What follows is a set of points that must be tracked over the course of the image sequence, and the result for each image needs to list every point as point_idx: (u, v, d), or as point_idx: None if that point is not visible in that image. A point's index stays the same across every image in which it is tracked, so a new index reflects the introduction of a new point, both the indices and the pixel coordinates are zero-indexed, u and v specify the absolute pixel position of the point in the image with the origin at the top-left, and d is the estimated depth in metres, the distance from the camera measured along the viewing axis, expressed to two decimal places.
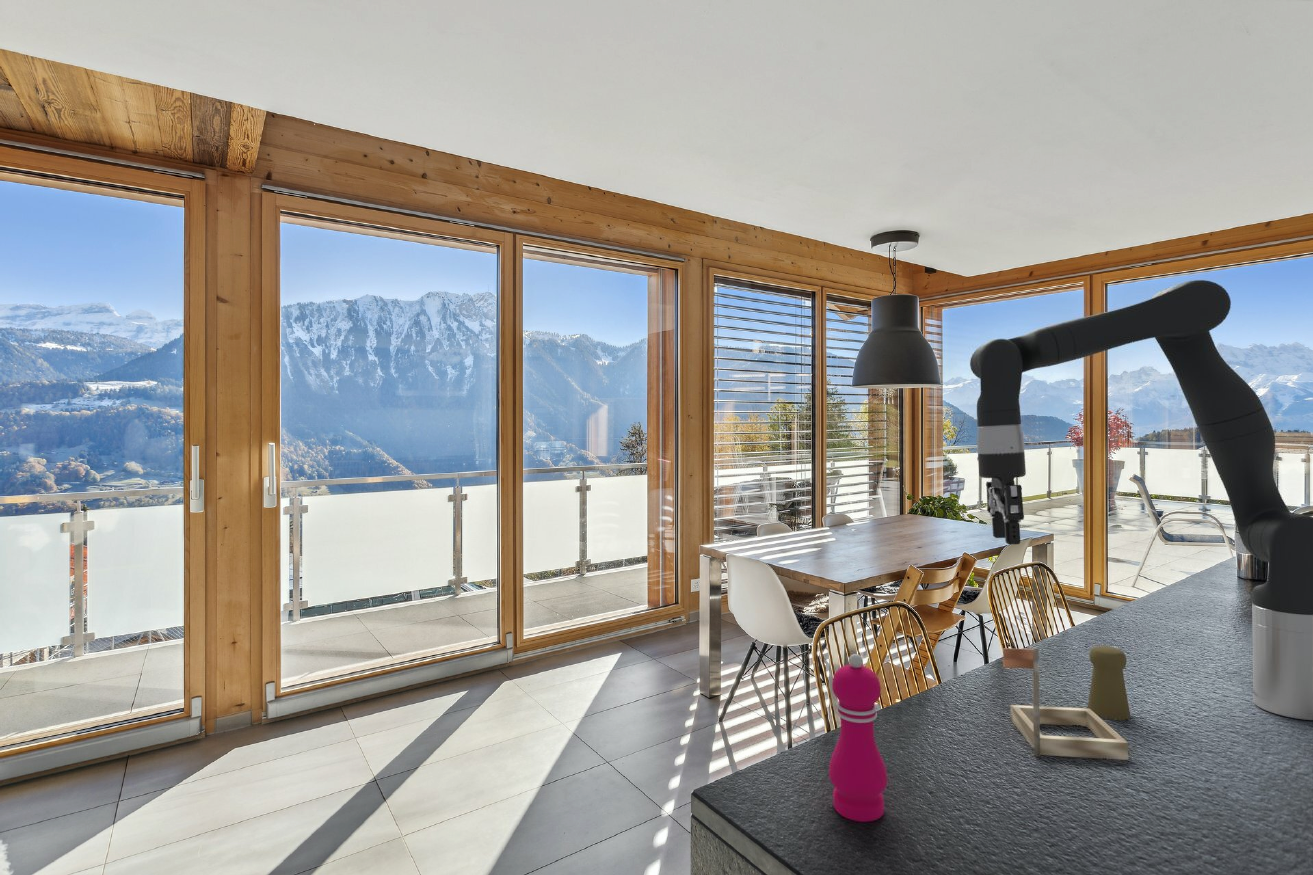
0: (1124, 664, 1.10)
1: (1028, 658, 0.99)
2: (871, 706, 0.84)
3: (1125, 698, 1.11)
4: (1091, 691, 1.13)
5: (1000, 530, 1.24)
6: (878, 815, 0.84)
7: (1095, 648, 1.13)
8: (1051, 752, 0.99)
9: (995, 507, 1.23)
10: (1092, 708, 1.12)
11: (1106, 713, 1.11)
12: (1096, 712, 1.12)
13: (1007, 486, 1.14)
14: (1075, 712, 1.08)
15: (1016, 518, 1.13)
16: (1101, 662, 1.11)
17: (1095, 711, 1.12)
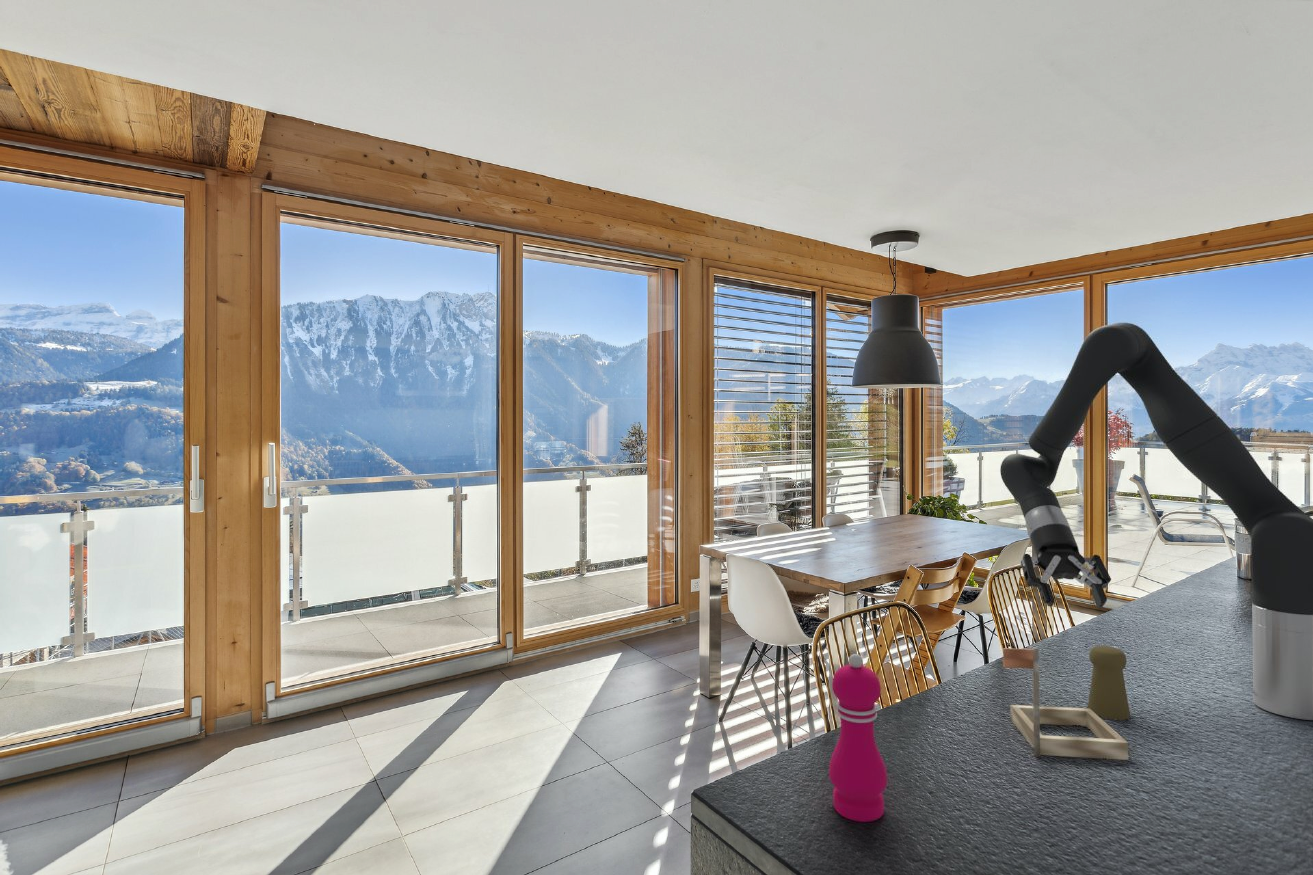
0: (1124, 664, 1.10)
1: (1028, 658, 0.99)
2: (871, 706, 0.84)
3: (1125, 698, 1.11)
4: (1091, 691, 1.13)
5: (1096, 598, 1.24)
6: (878, 815, 0.84)
7: (1095, 648, 1.13)
8: (1051, 752, 0.99)
9: (1082, 580, 1.28)
10: (1092, 708, 1.12)
11: (1106, 713, 1.11)
12: (1096, 712, 1.12)
13: (1021, 560, 1.32)
14: (1075, 712, 1.08)
15: (1028, 581, 1.28)
16: (1101, 661, 1.11)
17: (1095, 711, 1.12)
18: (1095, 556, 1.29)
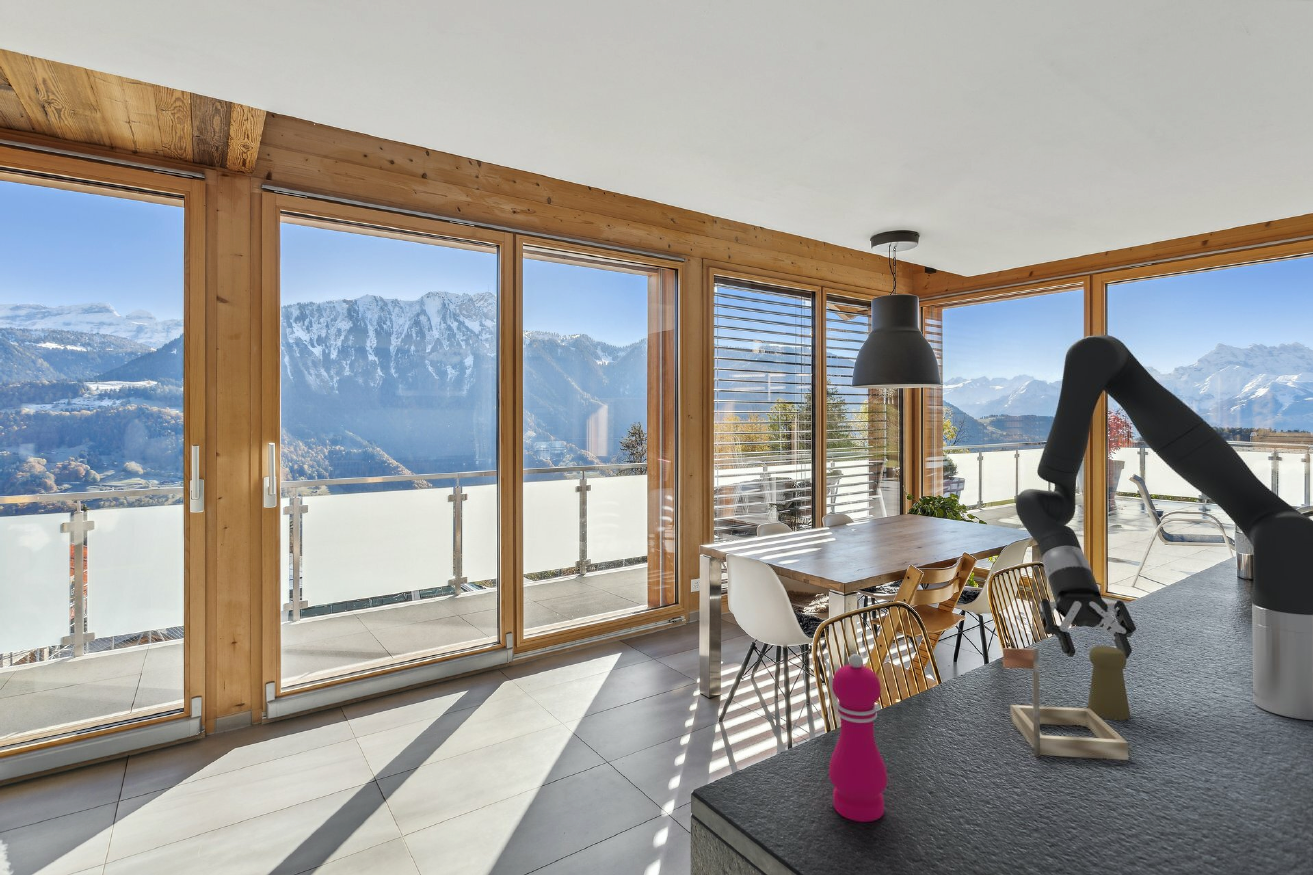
0: (1124, 664, 1.10)
1: (1028, 658, 0.99)
2: (871, 706, 0.84)
3: (1125, 698, 1.11)
4: (1091, 691, 1.13)
5: (1120, 649, 1.16)
6: (878, 815, 0.84)
7: (1095, 648, 1.13)
8: (1051, 752, 0.99)
9: (1104, 628, 1.20)
10: (1092, 708, 1.12)
11: (1106, 713, 1.11)
12: (1096, 712, 1.12)
13: (1039, 605, 1.24)
14: (1075, 712, 1.08)
15: (1047, 629, 1.20)
16: (1101, 662, 1.11)
17: (1095, 711, 1.12)
18: (1119, 602, 1.21)
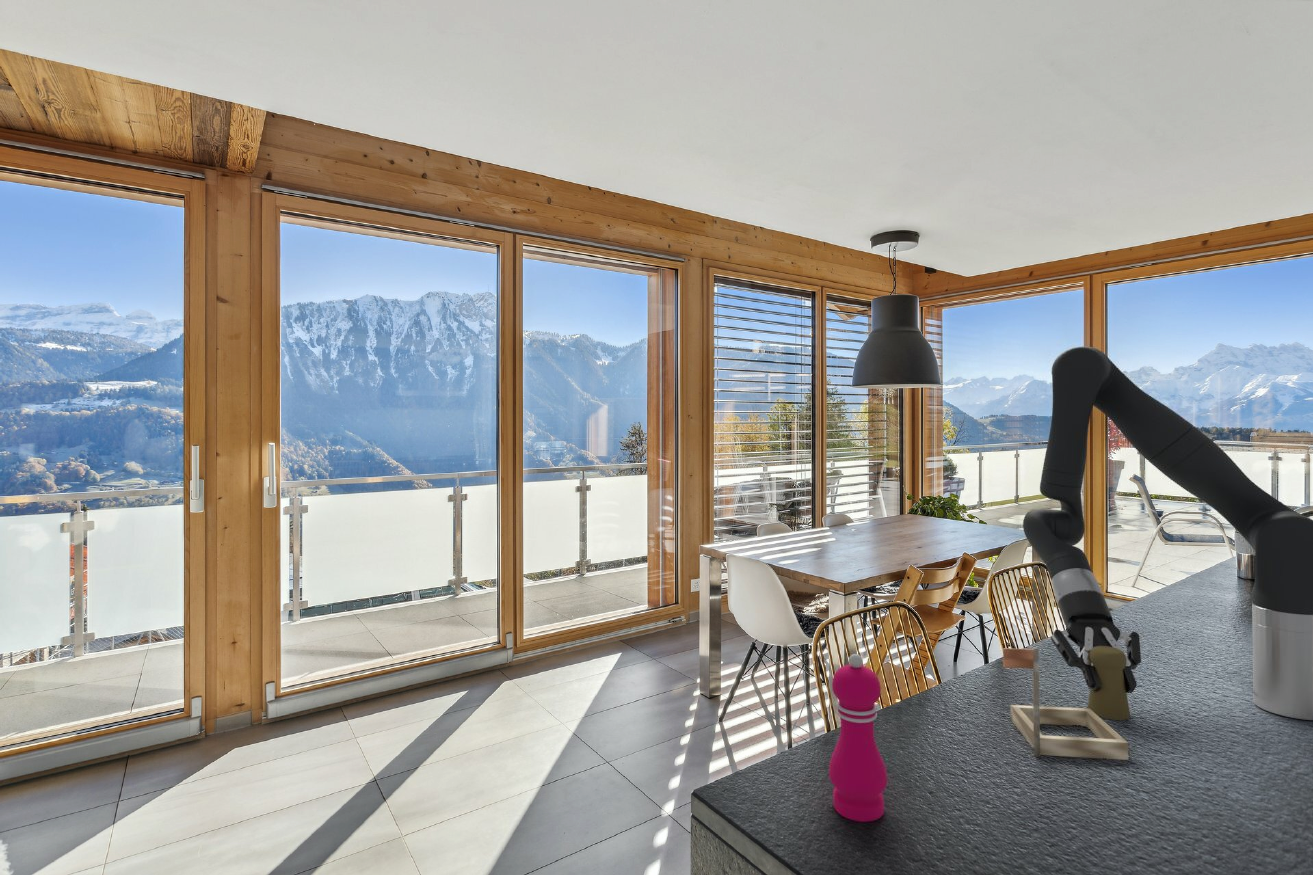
0: (1124, 664, 1.10)
1: (1028, 658, 0.99)
2: (871, 706, 0.84)
3: (1125, 698, 1.11)
4: (1091, 691, 1.13)
5: (1125, 682, 1.11)
6: (878, 815, 0.84)
7: (1095, 648, 1.13)
8: (1051, 752, 0.99)
9: None
10: (1092, 708, 1.12)
11: (1106, 713, 1.11)
12: (1096, 712, 1.12)
13: (1051, 636, 1.19)
14: (1075, 712, 1.08)
15: (1070, 661, 1.15)
16: (1101, 661, 1.11)
17: (1095, 711, 1.12)
18: (1133, 633, 1.16)
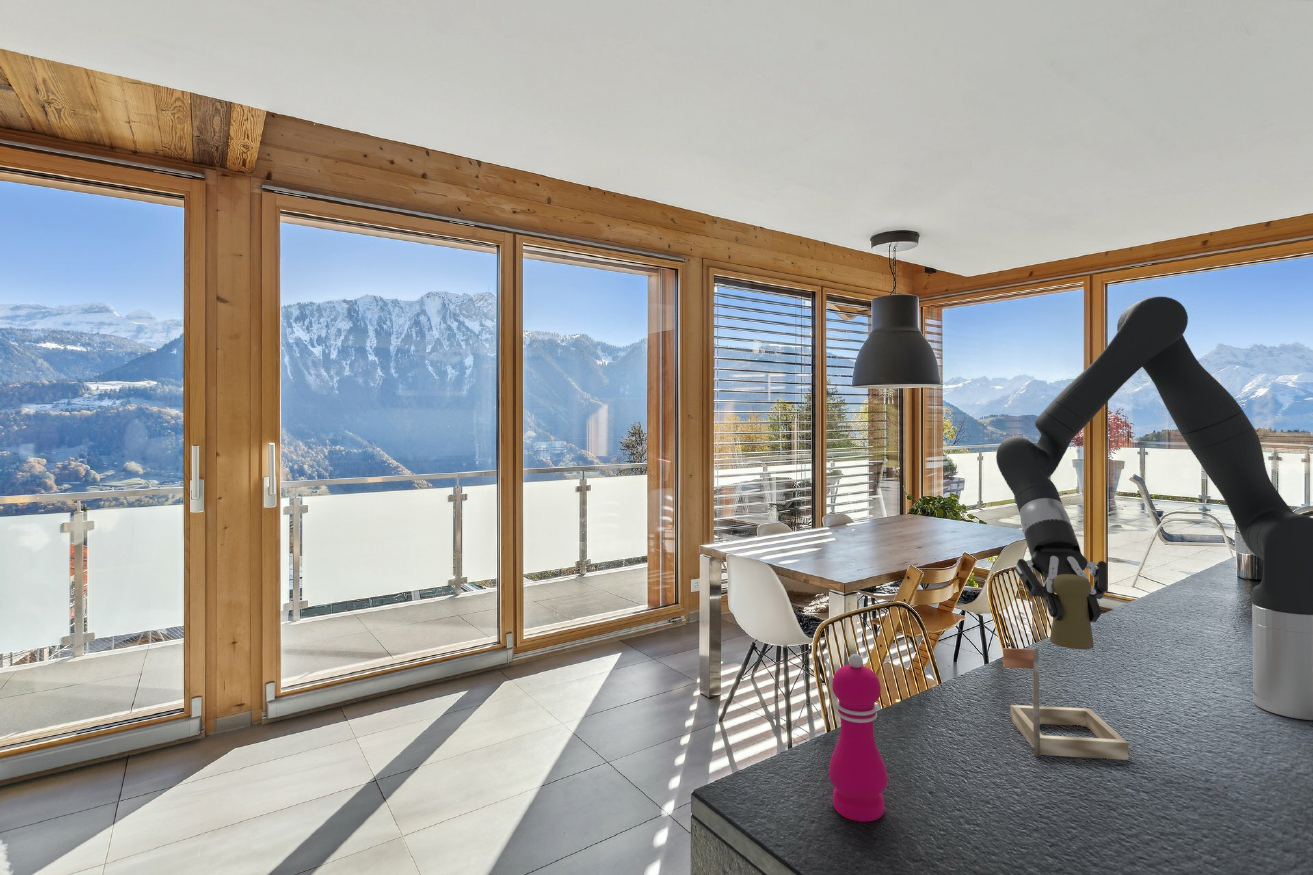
0: (1088, 591, 1.05)
1: (1028, 658, 0.99)
2: (871, 706, 0.84)
3: (1088, 627, 1.05)
4: (1054, 620, 1.08)
5: (1089, 611, 1.06)
6: (878, 815, 0.84)
7: (1059, 575, 1.08)
8: (1051, 752, 0.99)
9: None
10: (1054, 638, 1.07)
11: (1068, 642, 1.05)
12: (1058, 641, 1.06)
13: (1015, 567, 1.14)
14: (1075, 712, 1.08)
15: (1033, 591, 1.10)
16: (1064, 588, 1.06)
17: (1057, 641, 1.07)
18: (1101, 562, 1.10)
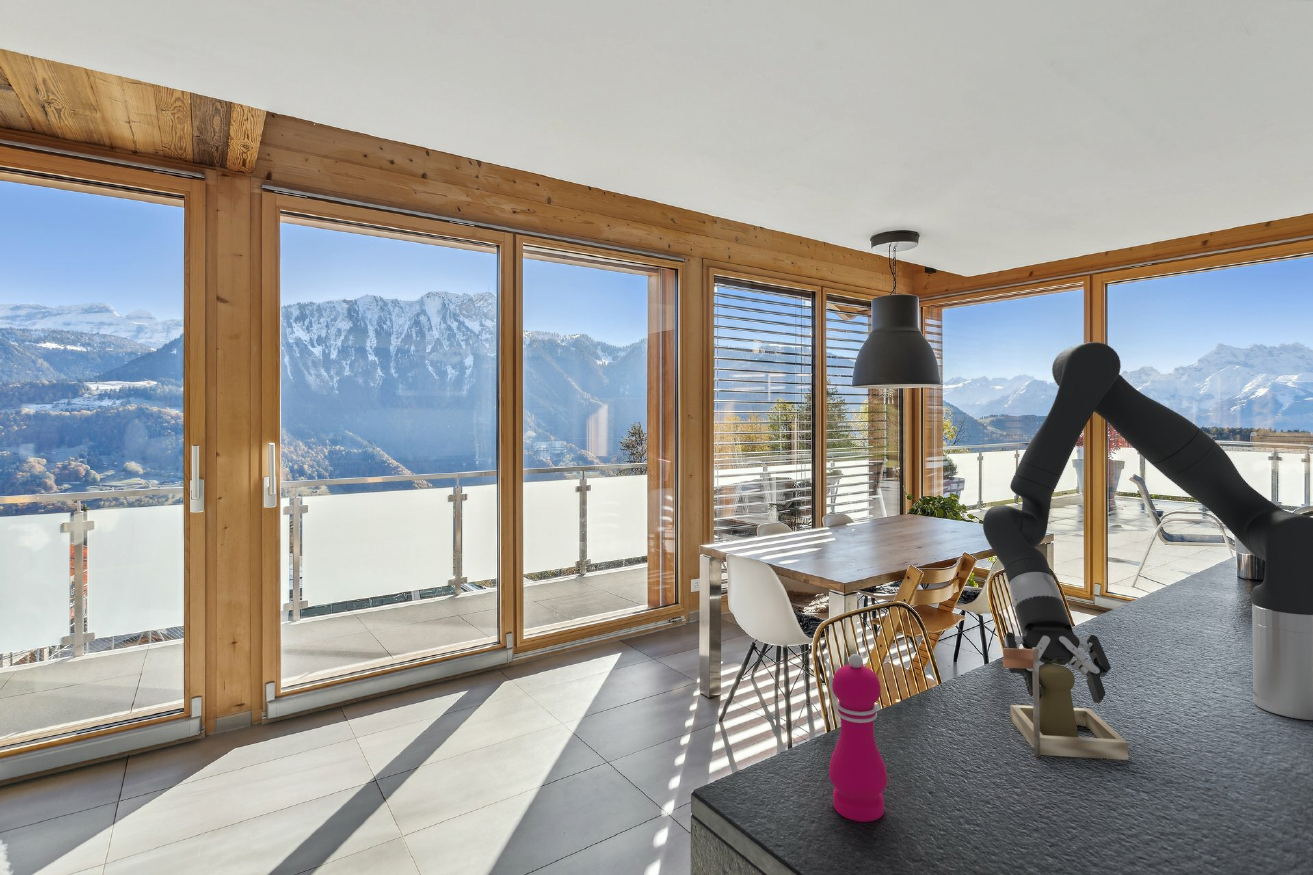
0: (1071, 684, 1.03)
1: (1028, 658, 0.99)
2: (871, 706, 0.84)
3: (1073, 721, 1.03)
4: None
5: (1093, 691, 1.03)
6: (878, 815, 0.84)
7: (1042, 666, 1.05)
8: (1051, 752, 0.99)
9: (1076, 666, 1.06)
10: None
11: None
12: None
13: (1004, 639, 1.11)
14: (1075, 712, 1.08)
15: None
16: (1047, 681, 1.03)
17: None
18: (1092, 637, 1.07)
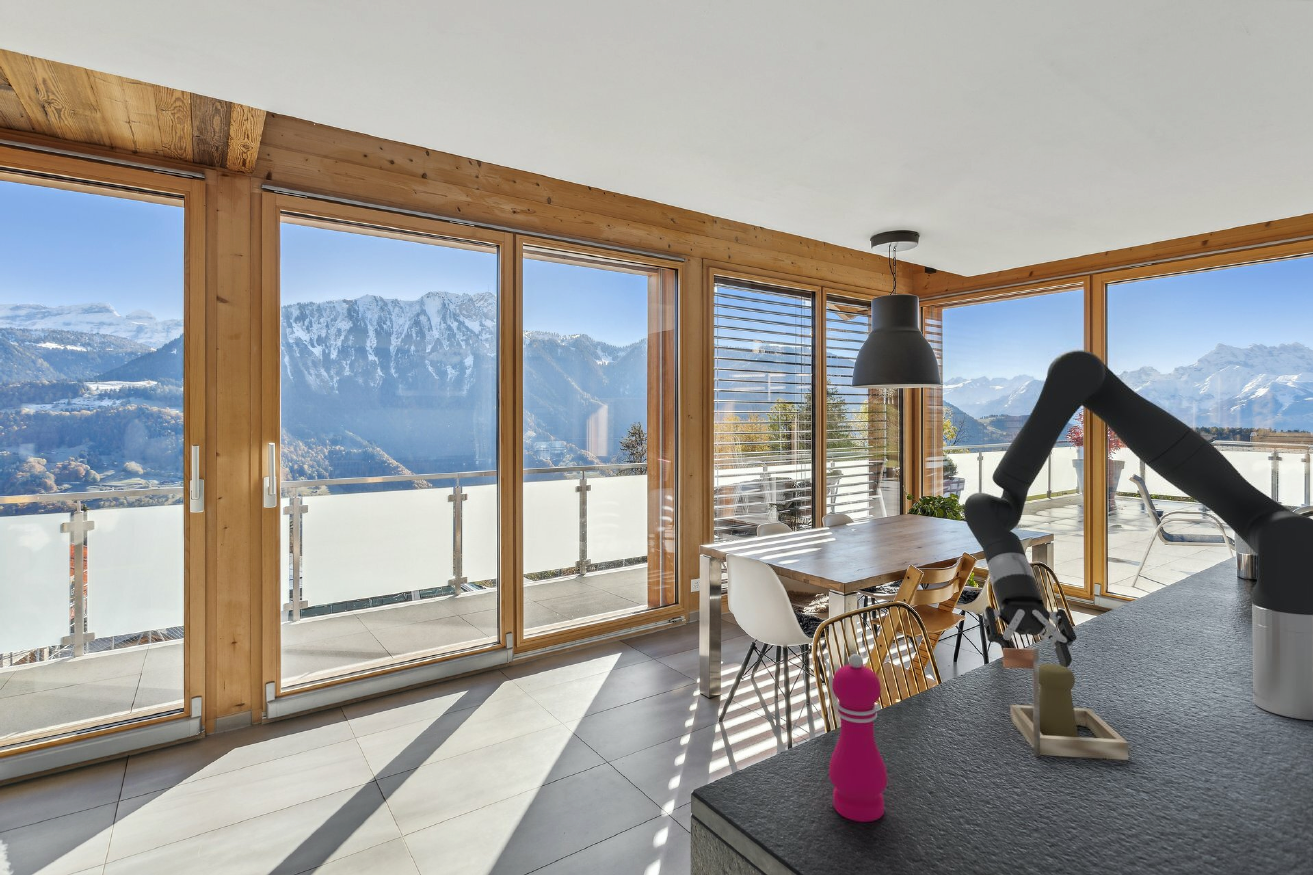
0: (1072, 684, 1.02)
1: (1028, 658, 0.99)
2: (871, 706, 0.84)
3: (1073, 721, 1.03)
4: None
5: (1061, 658, 1.16)
6: (878, 815, 0.84)
7: (1042, 666, 1.05)
8: (1051, 752, 0.99)
9: (1046, 636, 1.19)
10: None
11: None
12: None
13: (983, 612, 1.24)
14: (1075, 712, 1.08)
15: (990, 637, 1.19)
16: (1047, 681, 1.03)
17: None
18: (1060, 611, 1.20)
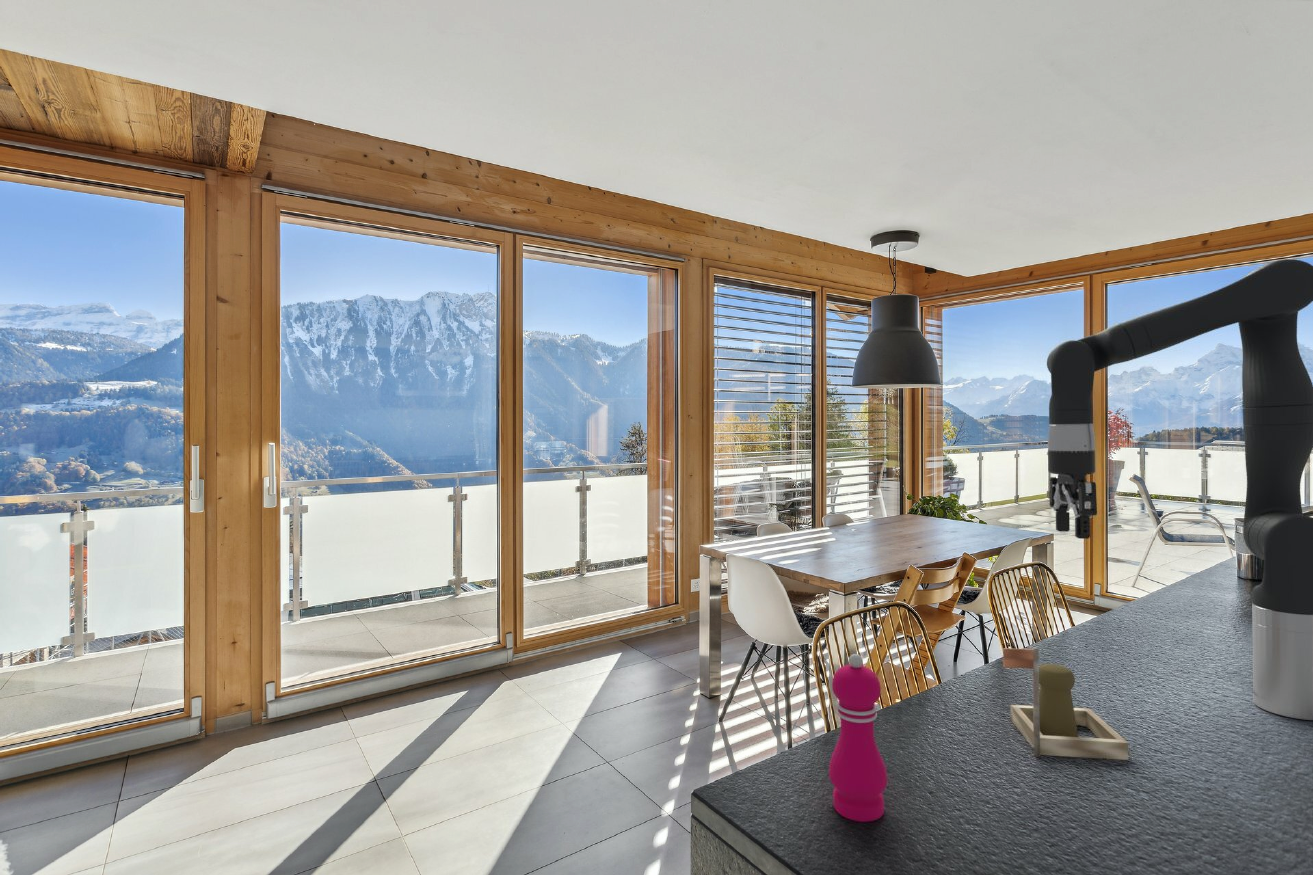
0: (1072, 684, 1.03)
1: (1028, 658, 0.99)
2: (871, 706, 0.84)
3: (1073, 721, 1.03)
4: None
5: (1063, 524, 1.29)
6: (878, 815, 0.84)
7: (1042, 666, 1.05)
8: (1051, 752, 0.99)
9: (1060, 502, 1.28)
10: None
11: None
12: None
13: (1082, 483, 1.19)
14: (1075, 712, 1.08)
15: (1089, 514, 1.18)
16: (1047, 681, 1.03)
17: None
18: None
